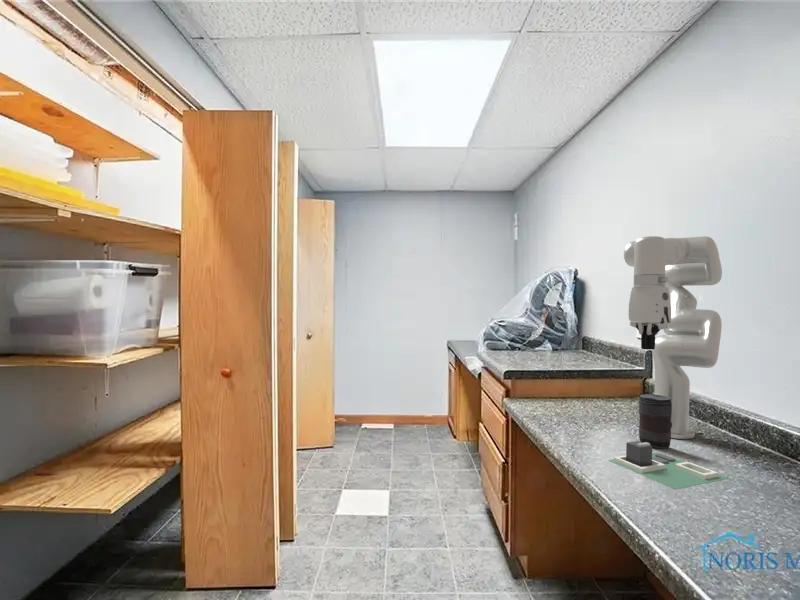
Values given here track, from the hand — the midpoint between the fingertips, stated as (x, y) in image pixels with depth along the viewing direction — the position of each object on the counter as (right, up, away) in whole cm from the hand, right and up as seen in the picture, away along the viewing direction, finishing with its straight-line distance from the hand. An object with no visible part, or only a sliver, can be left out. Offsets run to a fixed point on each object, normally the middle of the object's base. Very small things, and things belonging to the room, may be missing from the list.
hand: (647, 349), depth 119 cm
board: (-3, -29, -13) cm, 32 cm away
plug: (-8, -28, -10) cm, 31 cm away
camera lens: (+5, -29, +5) cm, 30 cm away
